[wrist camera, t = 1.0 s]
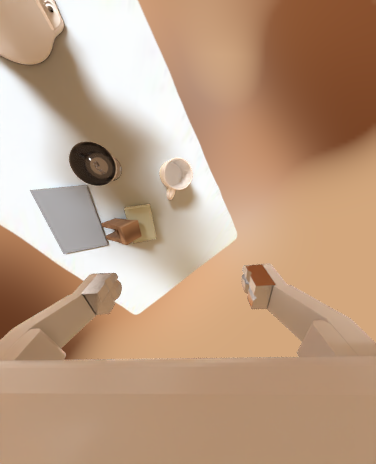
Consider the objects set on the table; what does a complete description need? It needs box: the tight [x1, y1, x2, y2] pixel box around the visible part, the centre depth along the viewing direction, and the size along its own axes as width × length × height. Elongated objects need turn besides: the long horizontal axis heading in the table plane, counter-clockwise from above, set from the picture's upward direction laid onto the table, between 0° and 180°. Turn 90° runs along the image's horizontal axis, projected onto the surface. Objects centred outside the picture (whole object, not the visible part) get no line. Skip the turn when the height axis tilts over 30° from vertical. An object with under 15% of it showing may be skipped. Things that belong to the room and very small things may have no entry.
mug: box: [159, 158, 193, 200], centre depth 43 cm, size 12×8×10 cm
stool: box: [101, 218, 142, 245], centre depth 43 cm, size 6×11×11 cm, turn 95°
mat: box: [30, 185, 108, 254], centre depth 42 cm, size 20×13×1 cm, turn 5°
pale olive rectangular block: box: [124, 204, 157, 244], centre depth 48 cm, size 12×8×4 cm, turn 5°
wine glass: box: [69, 142, 122, 186], centre depth 34 cm, size 8×8×15 cm
